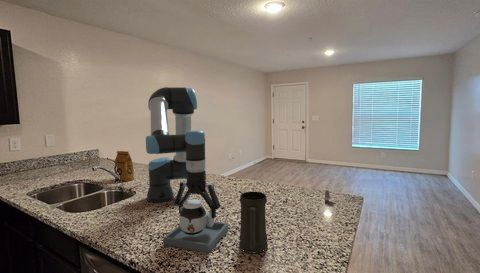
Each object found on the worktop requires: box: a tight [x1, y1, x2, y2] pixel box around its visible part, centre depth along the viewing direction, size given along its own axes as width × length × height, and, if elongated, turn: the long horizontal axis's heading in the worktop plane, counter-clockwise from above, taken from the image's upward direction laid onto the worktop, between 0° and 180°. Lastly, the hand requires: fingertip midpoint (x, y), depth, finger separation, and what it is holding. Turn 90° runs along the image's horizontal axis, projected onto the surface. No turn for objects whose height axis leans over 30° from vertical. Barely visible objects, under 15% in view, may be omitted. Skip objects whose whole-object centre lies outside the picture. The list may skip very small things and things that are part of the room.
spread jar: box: [178, 199, 210, 235], centre depth 102 cm, size 12×11×12 cm
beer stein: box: [238, 191, 269, 253], centre depth 93 cm, size 15×11×20 cm
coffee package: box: [114, 150, 135, 183], centre depth 190 cm, size 10×12×22 cm
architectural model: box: [324, 187, 333, 203], centre depth 140 cm, size 3×7×7 cm, turn 158°
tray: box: [162, 220, 229, 254], centre depth 103 cm, size 19×19×3 cm
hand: (197, 223), depth 102 cm, fingers closed on spread jar, 12 cm apart
